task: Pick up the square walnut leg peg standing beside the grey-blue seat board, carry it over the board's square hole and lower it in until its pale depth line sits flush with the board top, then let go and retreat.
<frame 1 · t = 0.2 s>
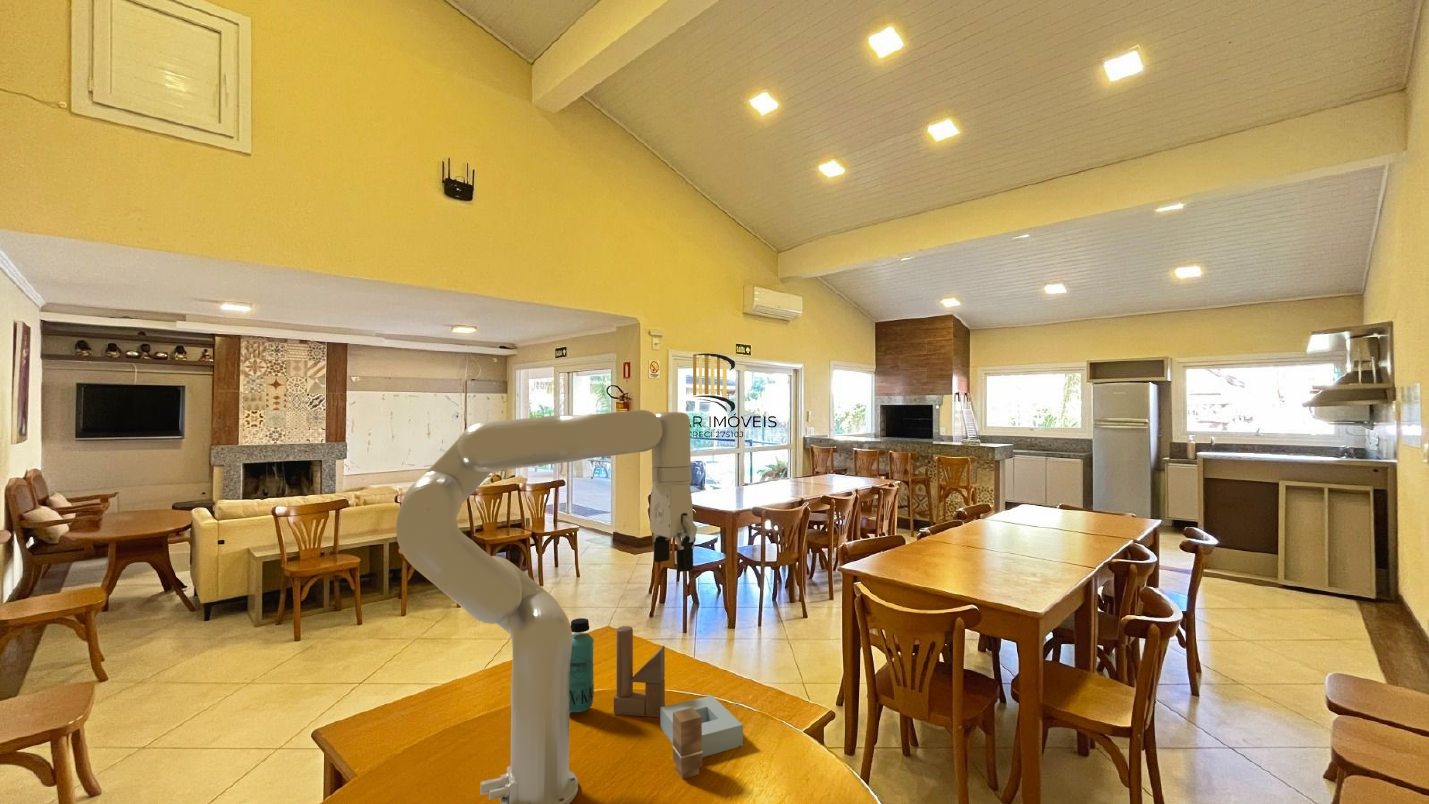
hand: (673, 565, 107), 36 cm above the table, tool pointing down, fingers open, 9 cm apart
peg: (687, 772, 100), on the table
seat board: (700, 736, 112), on the table
beverage bottle: (578, 713, 123), on the table
wooden block: (639, 713, 123), on the table
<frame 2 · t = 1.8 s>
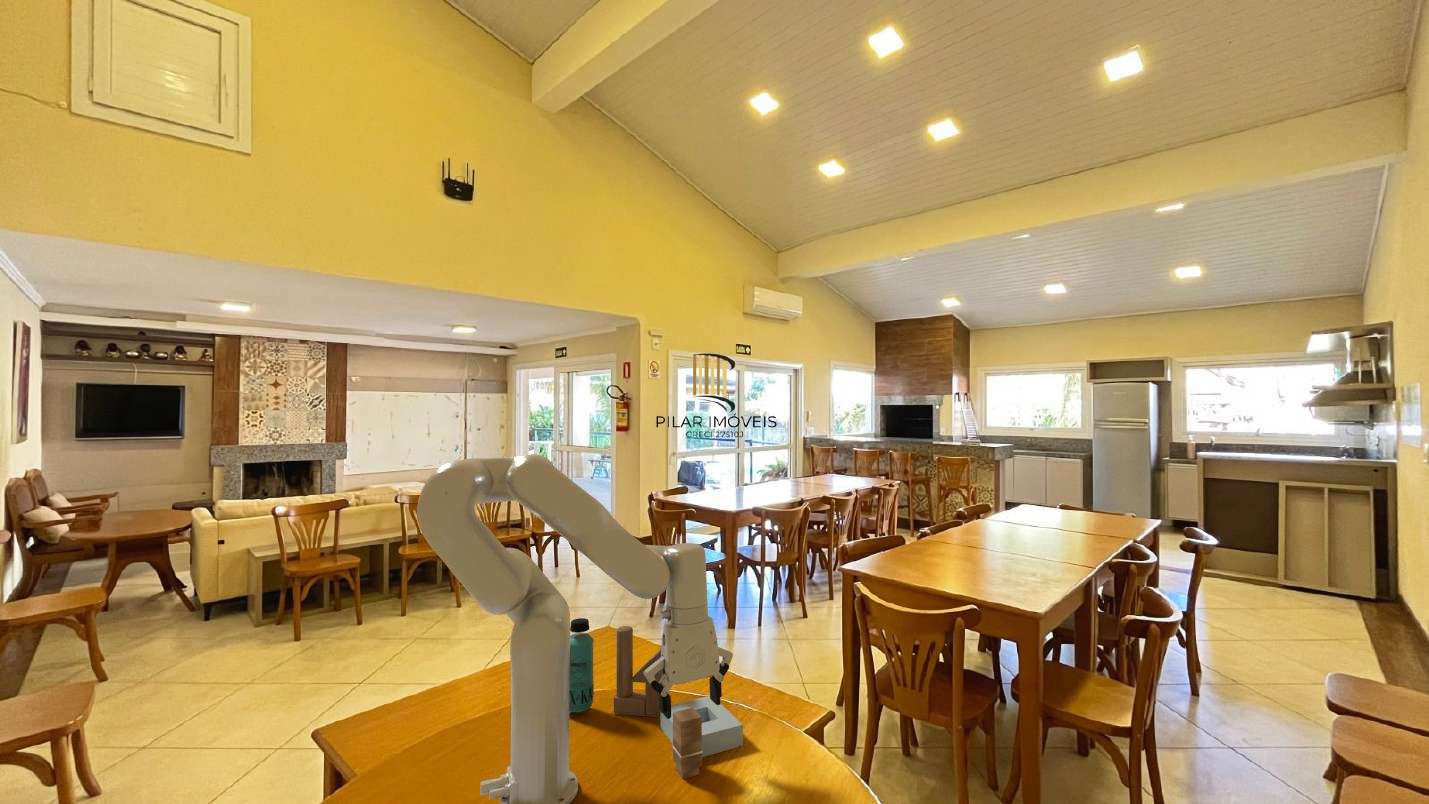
hand: (691, 708, 101), 11 cm above the table, tool pointing down, fingers open, 9 cm apart
nothing on the table moved.
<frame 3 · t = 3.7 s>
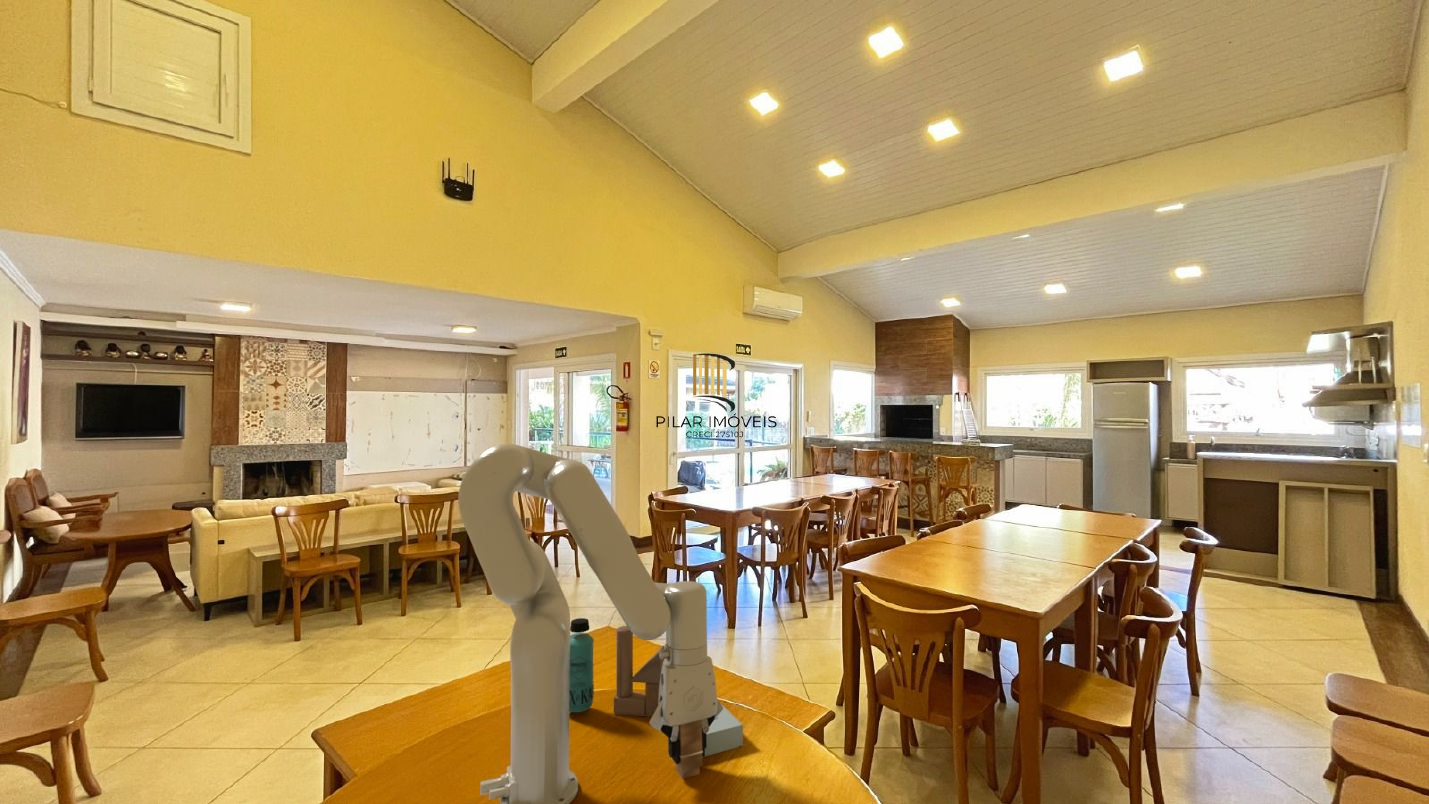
hand: (687, 755, 101), 3 cm above the table, tool pointing down, fingers closed on peg, 4 cm apart
peg: (687, 771, 100), on the table, touching gripper
everything else where it was.
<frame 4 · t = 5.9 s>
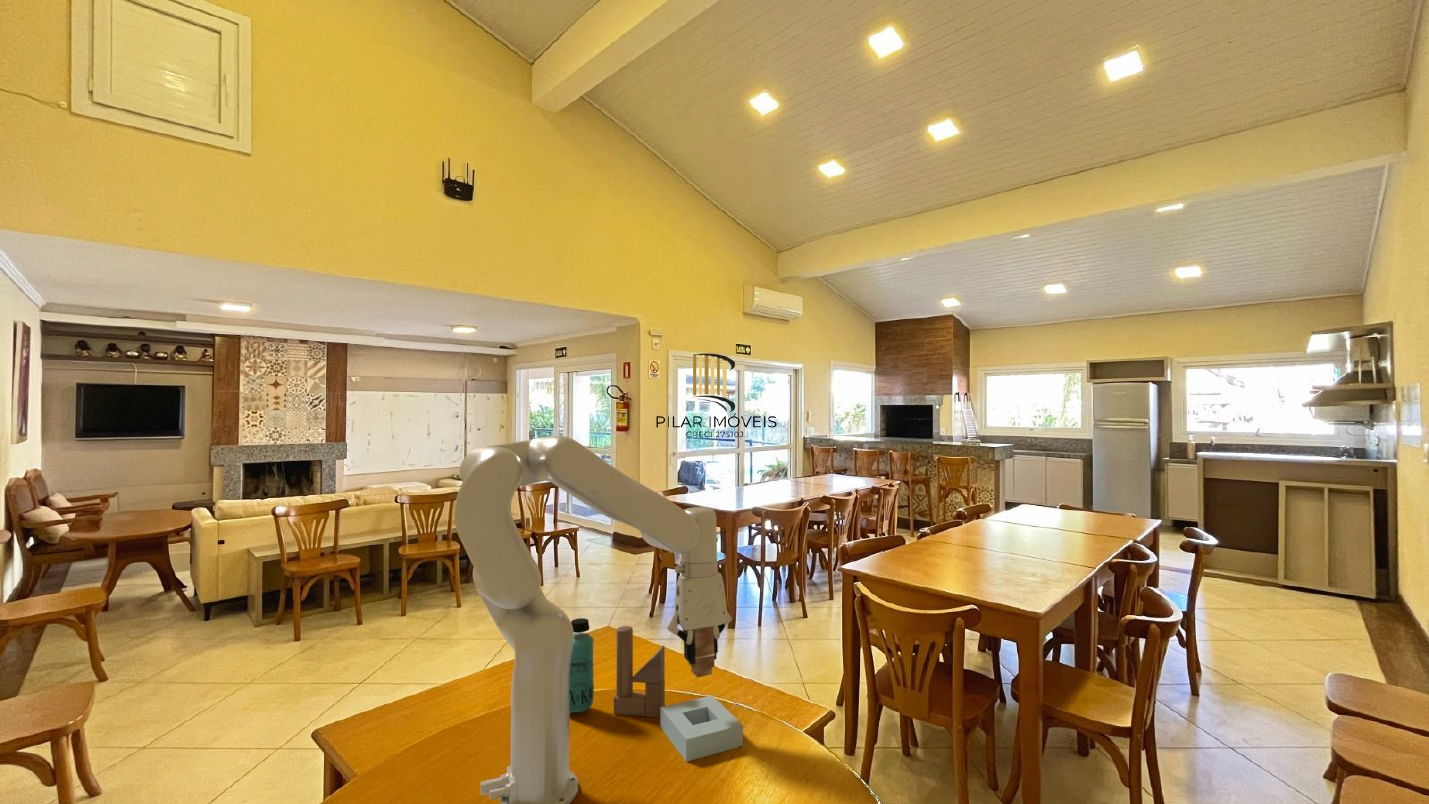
hand: (701, 658, 114), 15 cm above the table, tool pointing down, fingers closed on peg, 4 cm apart
peg: (701, 672, 113), point 12 cm above the table, touching gripper
everything else where it was.
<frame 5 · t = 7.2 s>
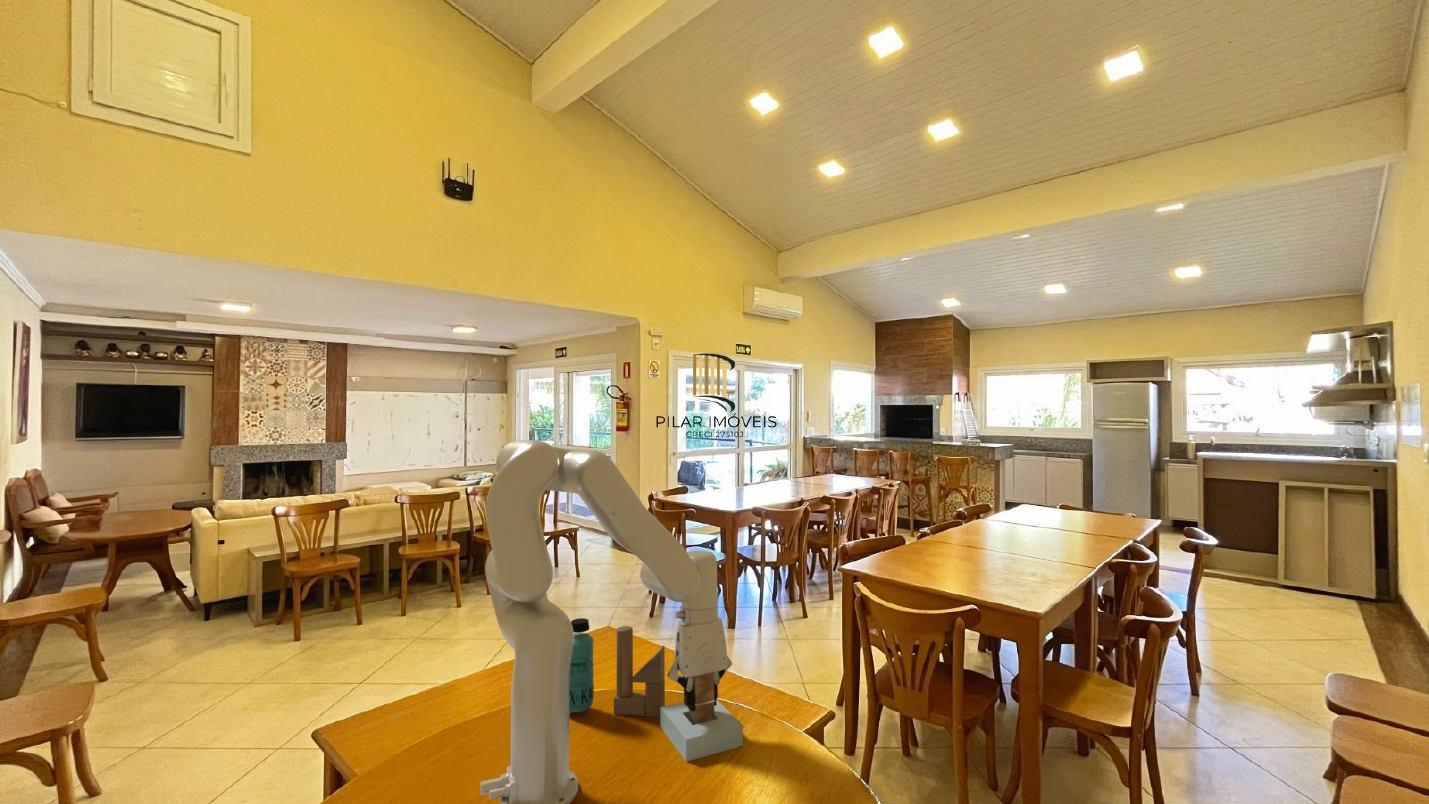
hand: (701, 704, 113), 6 cm above the table, tool pointing down, fingers closed on peg, 4 cm apart
peg: (701, 719, 113), point 3 cm above the table, touching gripper
everything else where it was.
when the fingers open (5 cm above the table, at t = 8.4 s): peg drops 2 cm, resting in seat board.
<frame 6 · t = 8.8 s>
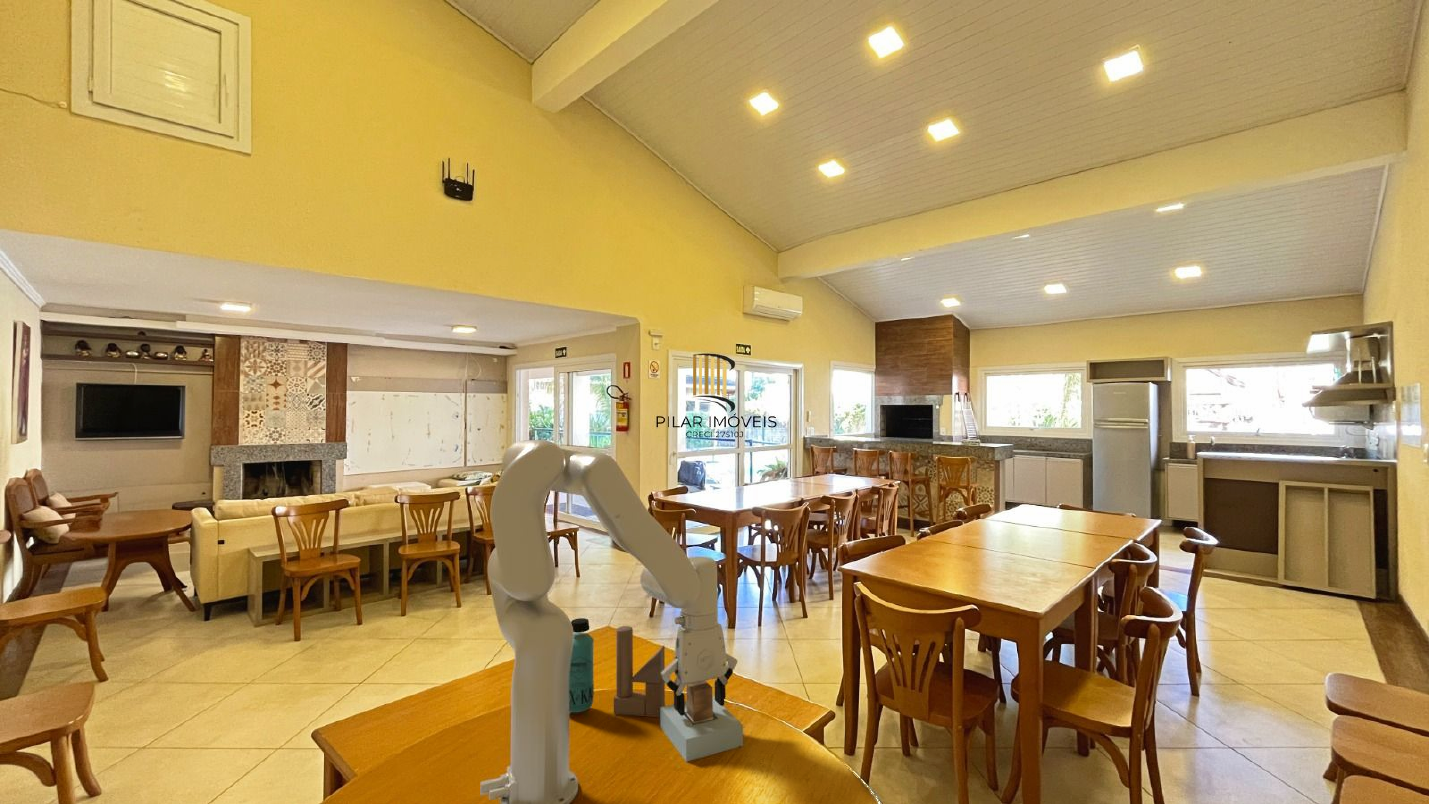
hand: (700, 707, 113), 6 cm above the table, tool pointing down, fingers open, 8 cm apart
peg: (700, 736, 112), resting in seat board
everything else where it was.
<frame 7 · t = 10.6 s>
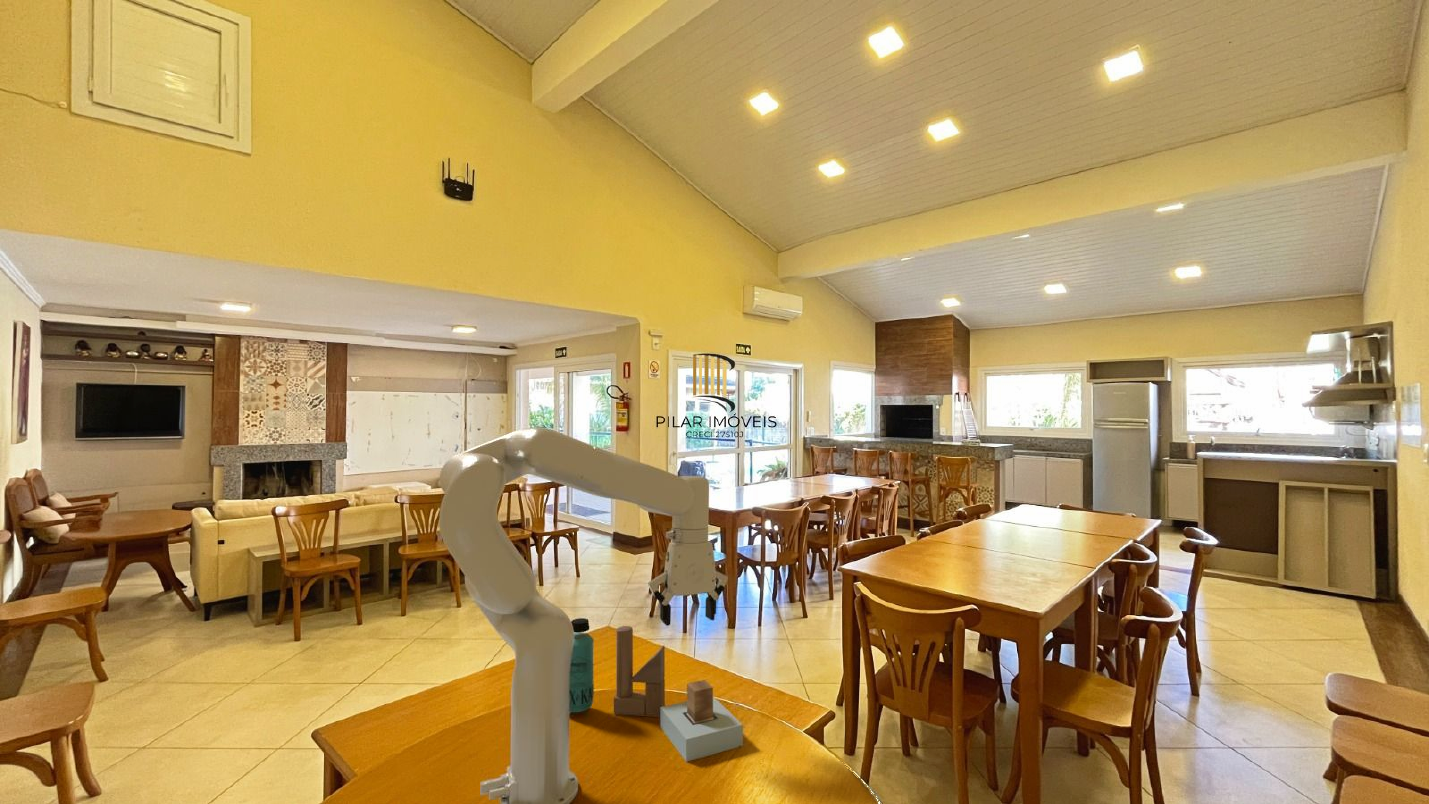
hand: (688, 621, 114), 23 cm above the table, tool pointing down, fingers open, 9 cm apart
nothing on the table moved.
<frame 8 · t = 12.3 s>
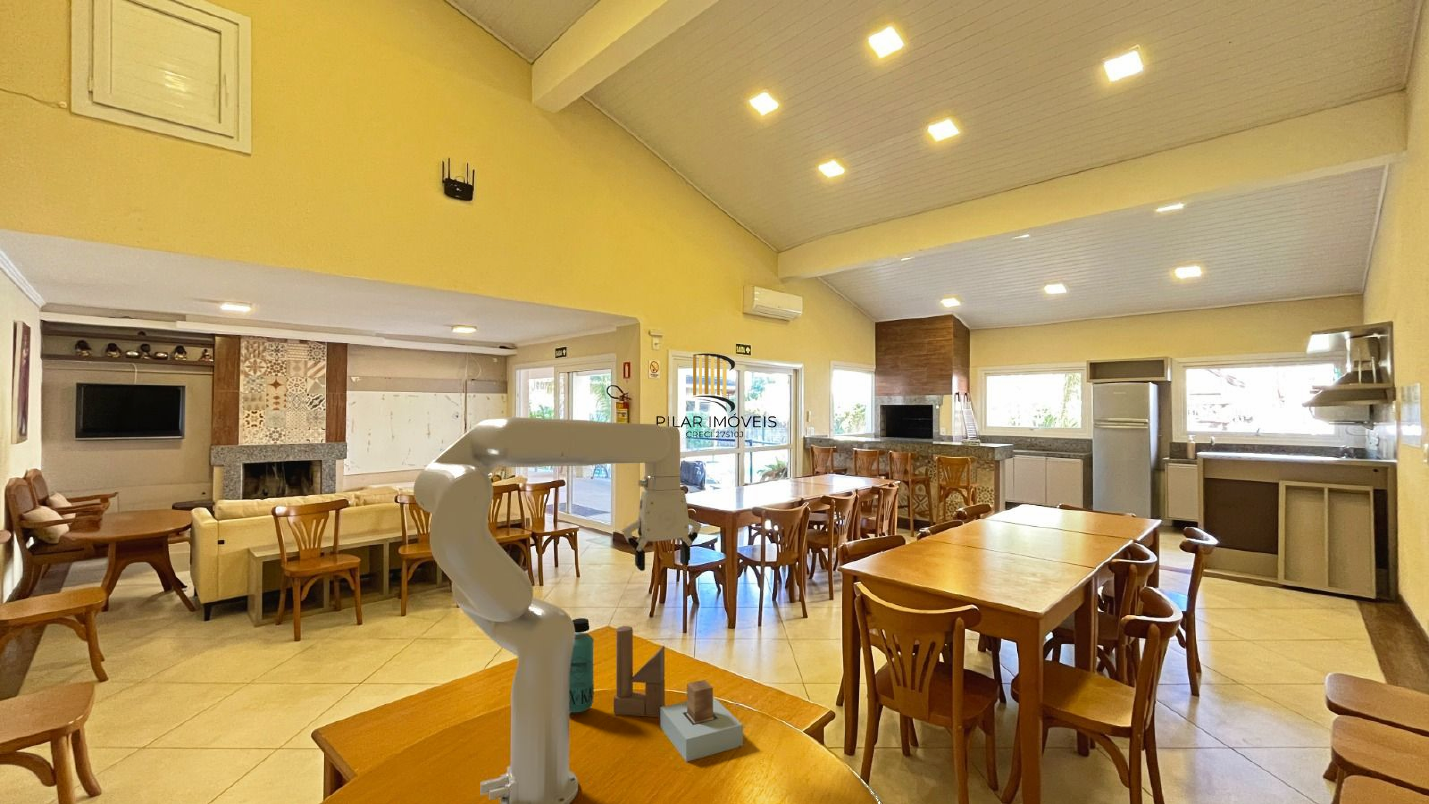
hand: (663, 566, 117), 33 cm above the table, tool pointing down, fingers open, 9 cm apart
nothing on the table moved.
at the end: peg 0.1 cm off-centre on the seat board, point 0.0 cm above the seat board's base; peg tilted 0°; the gripper is holding nothing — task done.
